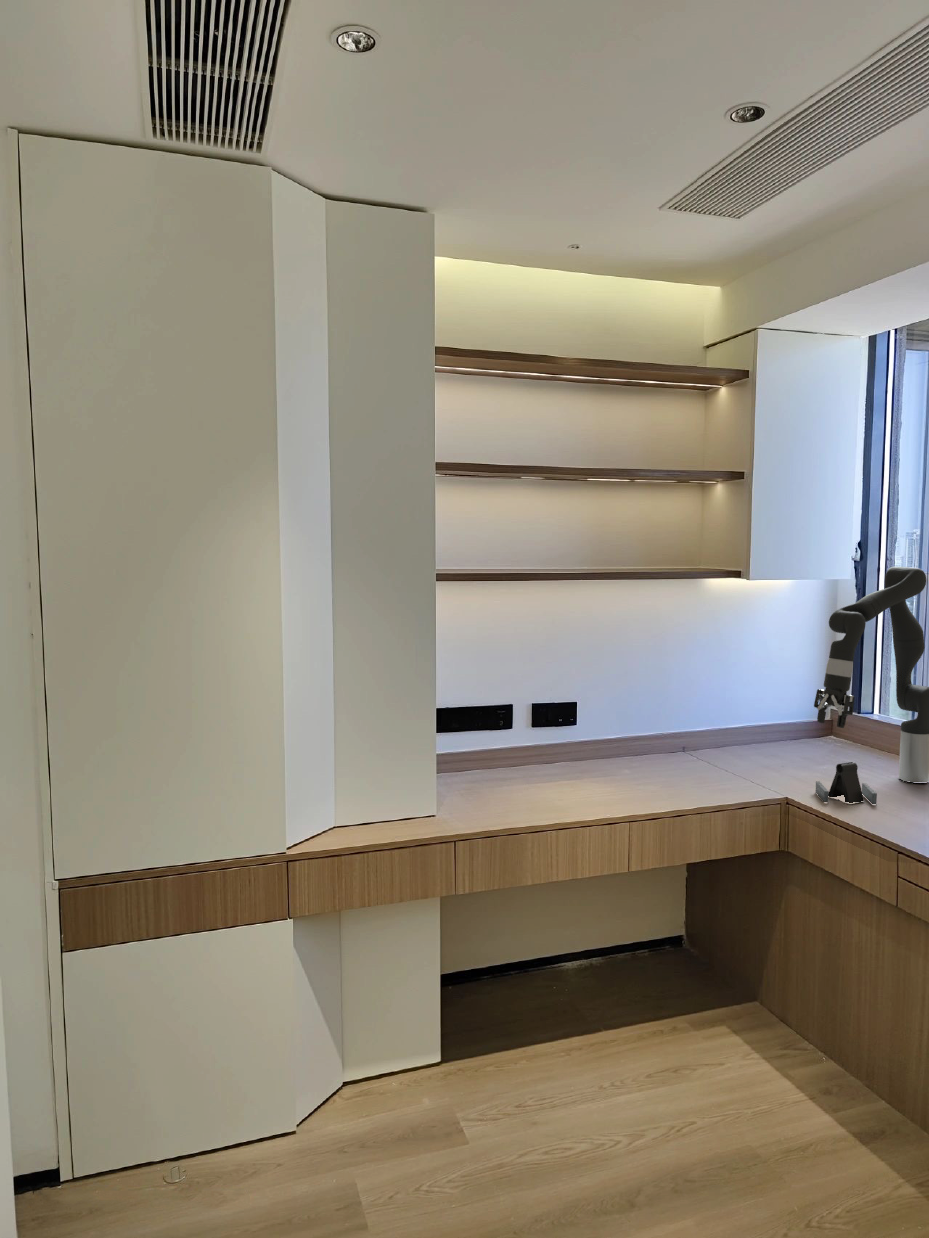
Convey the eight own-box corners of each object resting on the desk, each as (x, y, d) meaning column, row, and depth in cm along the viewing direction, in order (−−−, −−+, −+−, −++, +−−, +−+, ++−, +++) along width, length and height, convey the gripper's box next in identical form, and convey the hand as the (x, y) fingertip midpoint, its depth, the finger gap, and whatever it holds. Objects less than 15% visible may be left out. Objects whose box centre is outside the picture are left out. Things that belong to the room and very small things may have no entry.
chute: (815, 793, 270) (815, 781, 270) (865, 795, 267) (866, 783, 267) (824, 803, 259) (824, 791, 259) (876, 805, 257) (876, 793, 256)
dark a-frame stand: (864, 802, 260) (865, 765, 259) (849, 805, 258) (851, 767, 256) (841, 794, 268) (842, 758, 267) (827, 797, 266) (828, 760, 265)
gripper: (865, 678, 253) (856, 730, 253) (831, 672, 266) (823, 722, 266) (845, 675, 250) (836, 728, 251) (813, 670, 264) (804, 719, 264)
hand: (830, 724), depth 258 cm, fingers open, 8 cm apart
